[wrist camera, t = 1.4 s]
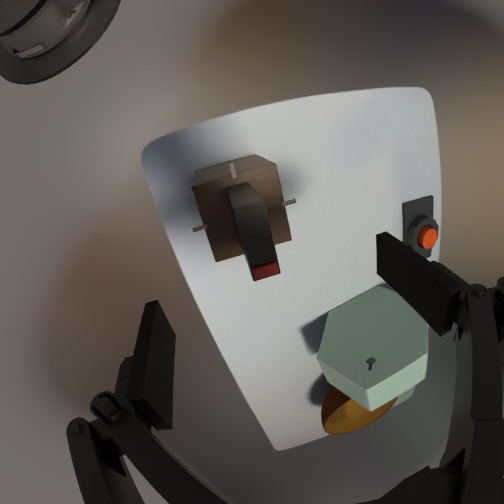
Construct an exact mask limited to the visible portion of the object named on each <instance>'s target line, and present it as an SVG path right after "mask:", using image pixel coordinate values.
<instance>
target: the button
mask: <svg viewBox="0 0 504 504" xmlns="http://www.w3.org/2000/svg"><path fill="white" fill-rule="evenodd" d="M436 239H437V232H436V230H435V229H433V228H431V227H429V226H424V227H423V228H422V229H421V230H420V232H419V234H418V237H417V240H418V243H419V244H420V245H421V246H423V247H424V248H426V249H429V248H431V247H432V246H433V245H434V244H435V242H436Z"/></svg>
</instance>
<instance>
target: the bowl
mask: <svg viewBox="0 0 504 504" xmlns="http://www.w3.org/2000/svg"><path fill="white" fill-rule="evenodd" d="M397 398H398V396H397V397H395V398H394V399H392V400H390V401H389V402H387V403H385V404H384V405H382V406H380V407H378V408H376V409H375V410H373V411H369V410H368V409H366V408H365V407H363V406H362V405H360V404H359V403H357V402H356V401H354V400H353V399H351V398H350V397H349V396H347V395H346V394H344V393H343V392H341V391H340V390H339V389H337V388H336V387H334V386H333V385H332V386H331V388H330V389H329V390H328V392H327V393H326V396H325V398H324V401H323V405H322V411H321V419H322V425H323V428H324V430H325V431H326V432H327V433H329V434H333V435H338V434H346V433H350V432H353V431H356V430H358V429H361V428H362V427H365V426H367V425H369V424H371V423H372V422H374V421H375V420H377V419H378V418H380V417H381V416H382V415H383V414H385V413H386V412H387V411H388V410H389V409H390V408H391V407H392V405H393V404H394V403H395V401H396V400H397Z"/></svg>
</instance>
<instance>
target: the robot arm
mask: <svg viewBox="0 0 504 504" xmlns="http://www.w3.org/2000/svg"><path fill="white" fill-rule="evenodd" d="M93 1H94V0H0V42H1V43H2V44H3V46H4V47H5V48H6V49H7V51H8V52H9V53H11V54H12V55H14V56H16V57H19V58H23V59H33V58H38V57H41V56H43V55H45V54H47V53H49V52H51V51H53V50H54V49H56V48H57V47H59V46H60V45H61V44H62V43H64V42H65V41H66V40H67V39H68V38H69V37H70V36H71V35H72V34H73V33H74V32H75V31H76V30H77V29H78V28H79V26H80V25H81V24H82V22H83V21H84V19H85V18H86V16H87V15H88V13H89V11H90V9H91V7H92V4H93ZM376 245H377V274H378V275H379V276H380V277H381V278H382V279H383V280H384V281H385V282H386V283H388V284H389V285H390V286H391V287H392V288H393V289H394V290H395V291H396V292H397V293H398V294H399V295H400V296H401V297H402V298H403V299H404V300H405V301H406V302H407V303H408V304H409V305H410V306H411V307H412V308H413V309H414V310H415V311H416V312H417V313H418V314H419V315H420V316H421V317H422V318H423V319H424V320H425V321H426V322H427V323H428V324H429V325H430V326H431V327H432V328H433V329H434V331H435V332H436V333H437V334H438V335H439V336H440V337H441V336H442V335H444V334H446V333H447V332H449V331H451V328H452V324H453V321H454V322H455V323H456V324H457V329H456V332H455V335H454V338H453V341H455V339H456V375H455V389H454V400H453V410H452V417H451V424H450V430H449V436H448V442H447V446H446V450H445V452H444V454H443V456H442V458H441V461H440V464H439V467H436V468H432V469H430V468H429V466H427V467H425V468H423V469H422V470H420V471H418V472H416V473H415V474H413V475H411V476H409V477H408V478H406V479H404V480H403V481H402V482H400V483H399V484H398V485H397V486H396V487H394V488H393V489H392V490H391V491H389V492H388V493H387V494H385V495H384V496H383V497H381V498H380V499H377V500H372V501H368V502H362V503H357V504H504V478H503V476H504V419H503V416H502V374H501V367H502V370H503V373H504V277H501V278H499V279H498V281H497V285H496V287H493V288H488V289H487V288H486V287H485V286H483V285H481V284H471V285H469V284H468V283H467V282H465V281H464V280H463V279H461V278H460V277H459V276H458V275H456V274H455V273H453V272H452V271H451V270H449V269H448V268H447V267H445V266H444V265H443V264H441V263H438V262H436V261H431V262H430V261H428V260H427V259H426V258H424V257H423V256H421V255H420V254H419V253H417V252H416V251H414V250H413V249H411V248H410V247H409V246H407V245H406V244H404V243H403V242H401V241H400V240H398V239H397V238H395V237H394V236H392V235H391V234H389V233H388V232H383V233H380V234H377V235H376ZM175 341H176V335H175V333H174V331H173V329H172V327H171V326H170V323H169V322H168V320H167V318H166V316H165V314H164V312H163V310H162V308H161V306H160V304H159V302H158V300H155V301H152V302H148V303H146V304H145V307H144V312H143V316H142V319H141V324H140V328H139V332H138V336H137V341H136V345H135V350H134V355H133V356H131V357H126V358H125V359H124V361H123V362H122V364H121V365H120V369H119V375H118V378H117V382H116V387H115V392H114V394H113V393H112V392H109V391H104V392H101V393H99V394H97V395H96V396H95V397H94V398H93V400H92V402H91V404H90V410H91V412H92V413H93V414H94V415H95V416H96V417H97V418H98V419H96V420H94V421H91V422H88V421H86V420H85V419H84V418H80V417H79V418H75V419H73V420H72V421H71V422H70V423H69V425H68V427H67V439H68V444H69V449H70V453H71V458H72V462H73V466H74V470H75V473H76V477H77V480H78V484H79V487H80V491H81V494H82V497H83V500H84V503H85V504H145V503H144V501H143V499H142V498H141V495H140V493H139V491H138V490H137V487H136V485H135V483H134V481H133V479H132V477H131V474H130V472H129V470H128V468H127V465H126V463H125V461H124V458H123V455H126V456H127V457H128V458H129V459H130V461H131V462H132V463H133V465H134V466H135V467H136V468H137V469H138V470H139V472H140V473H141V474H142V475H143V476H144V478H145V479H146V480H147V481H148V482H149V483H150V484H151V485H152V486H153V487H154V489H155V490H156V491H157V492H158V493H159V494H160V495H161V496H162V497H163V498H164V499H165V500H166V501H167V502H168V503H169V504H233V503H232V502H231V501H229V500H227V499H226V498H225V497H223V496H222V495H221V494H220V493H218V492H217V491H216V490H214V489H213V488H212V487H211V486H209V485H208V484H207V483H206V482H204V481H203V480H202V479H201V478H200V477H198V476H197V475H196V474H195V473H194V472H192V471H191V470H190V469H189V468H188V467H187V466H186V465H184V464H183V463H182V462H181V461H180V460H179V459H178V458H177V457H176V456H175V455H174V454H173V453H171V452H170V451H169V450H168V449H167V448H166V447H165V446H164V445H163V444H162V443H161V442H160V441H159V440H158V439H157V438H156V437H155V436H154V435H153V434H152V433H151V425H152V426H153V427H154V428H155V429H156V430H157V431H159V430H168V429H172V418H173V417H172V416H173V378H174V358H175V357H174V355H175Z"/></svg>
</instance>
